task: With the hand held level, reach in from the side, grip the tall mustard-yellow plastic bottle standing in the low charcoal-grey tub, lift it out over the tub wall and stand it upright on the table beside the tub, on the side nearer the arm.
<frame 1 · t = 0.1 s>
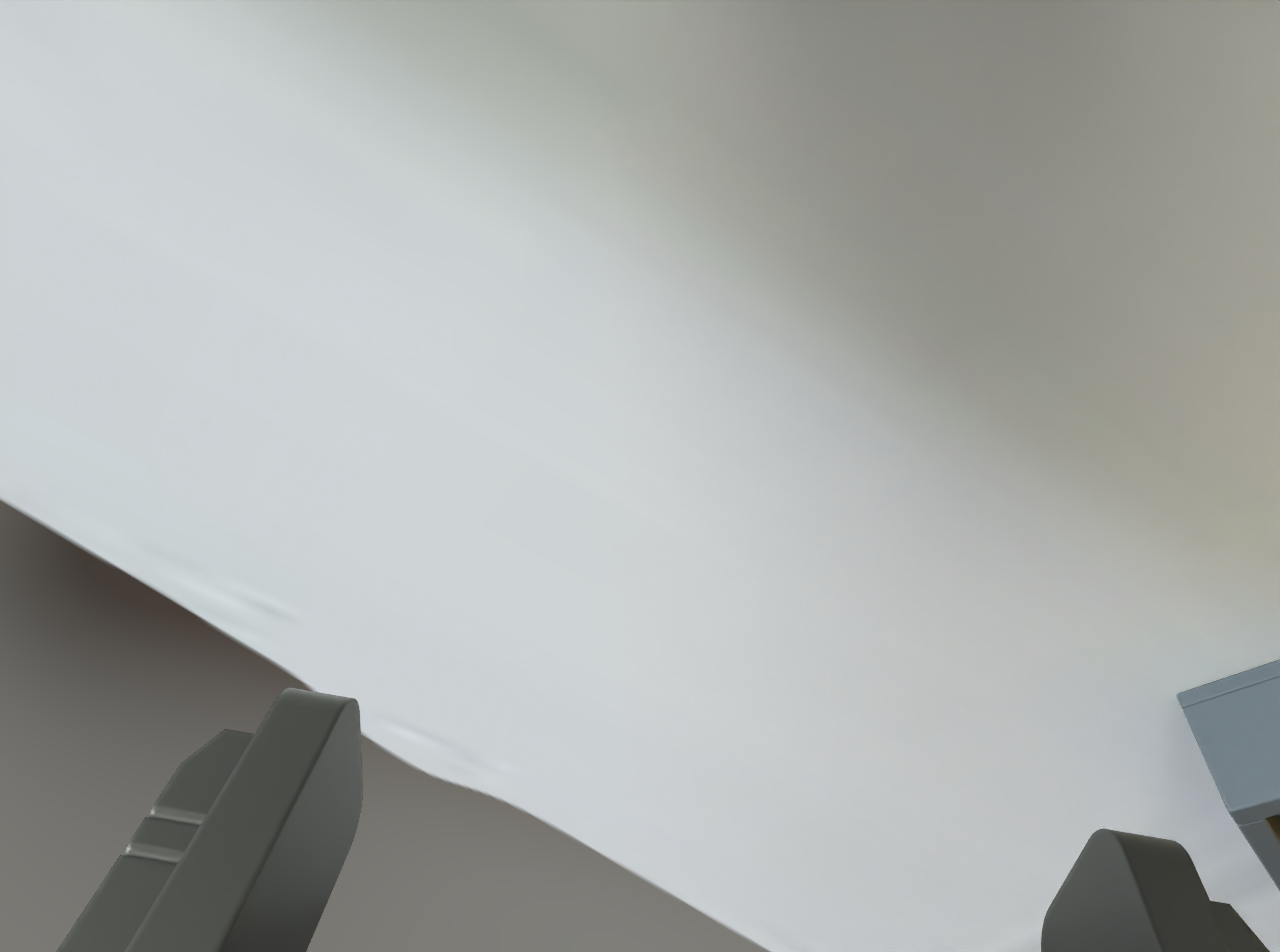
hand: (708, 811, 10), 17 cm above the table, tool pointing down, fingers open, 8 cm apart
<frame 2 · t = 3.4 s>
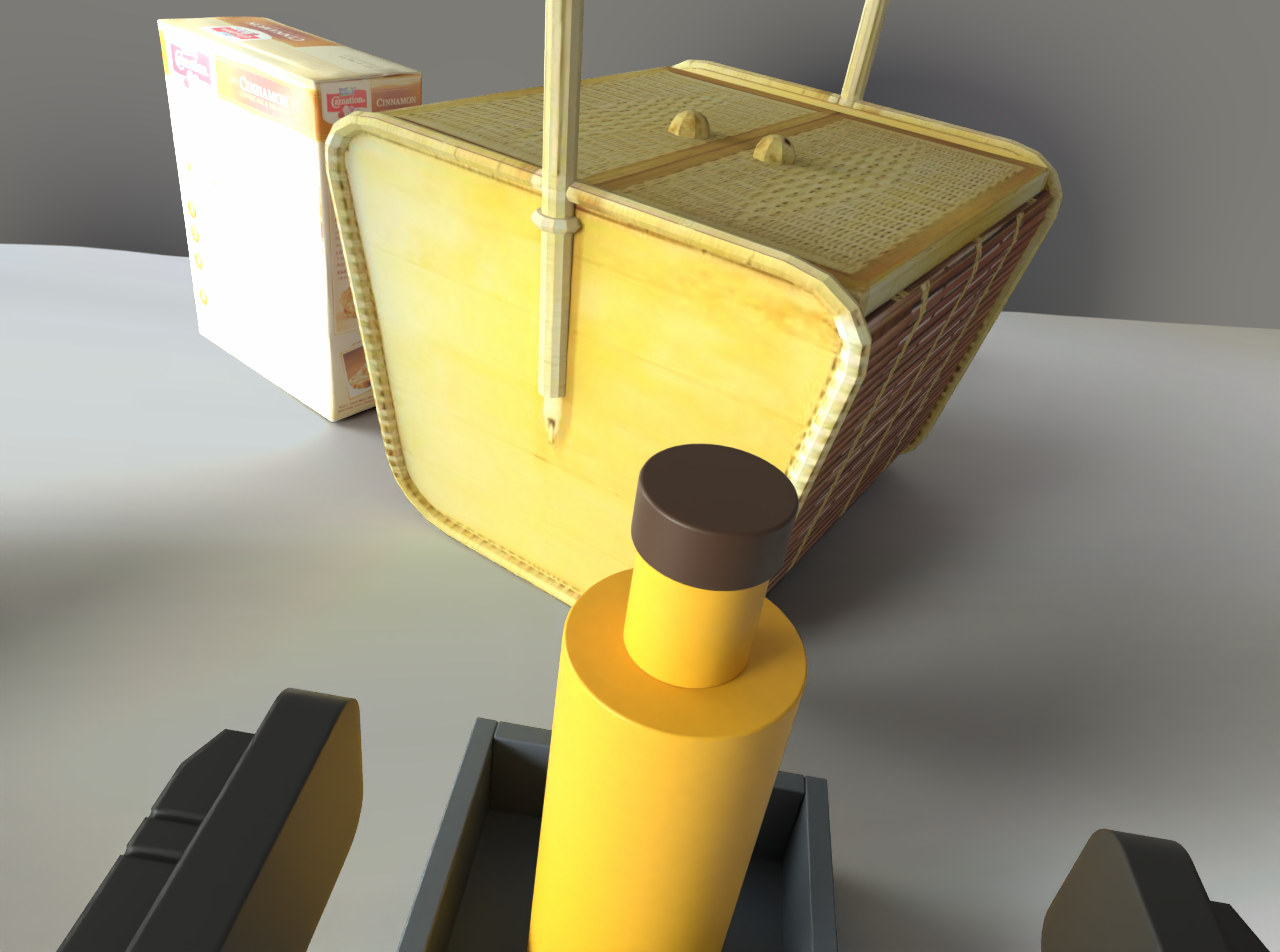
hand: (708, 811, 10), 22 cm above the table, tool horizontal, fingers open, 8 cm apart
coffeecake box: (308, 365, 63), on the table
picnic basket: (672, 490, 56), on the table
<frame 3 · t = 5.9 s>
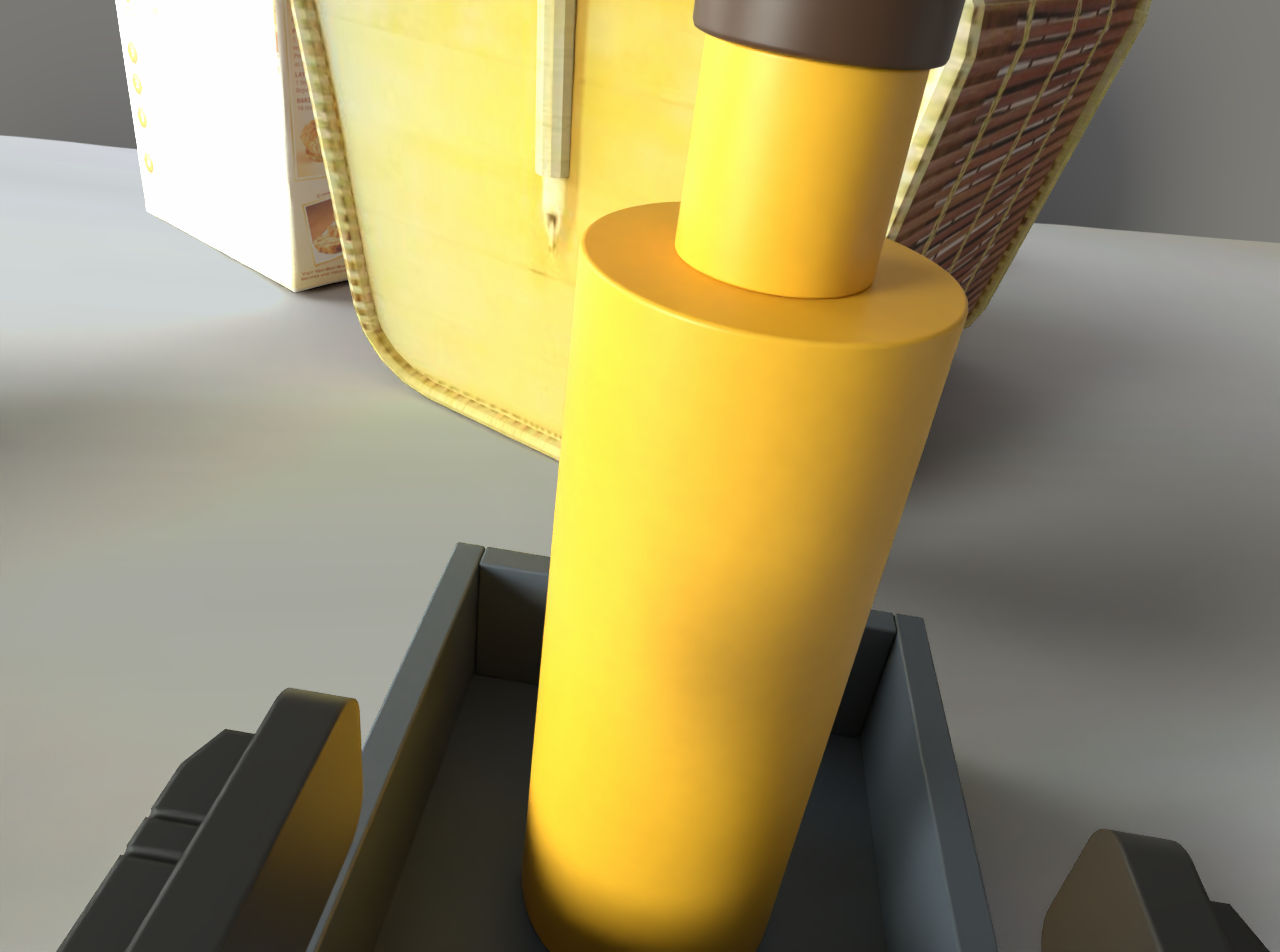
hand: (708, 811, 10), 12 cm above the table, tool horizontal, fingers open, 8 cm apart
tub: (643, 894, 23), on the table
coffeecake box: (270, 243, 55), on the table
picnic basket: (692, 366, 48), on the table
bottle: (646, 878, 22), point 1 cm above the table, touching tub
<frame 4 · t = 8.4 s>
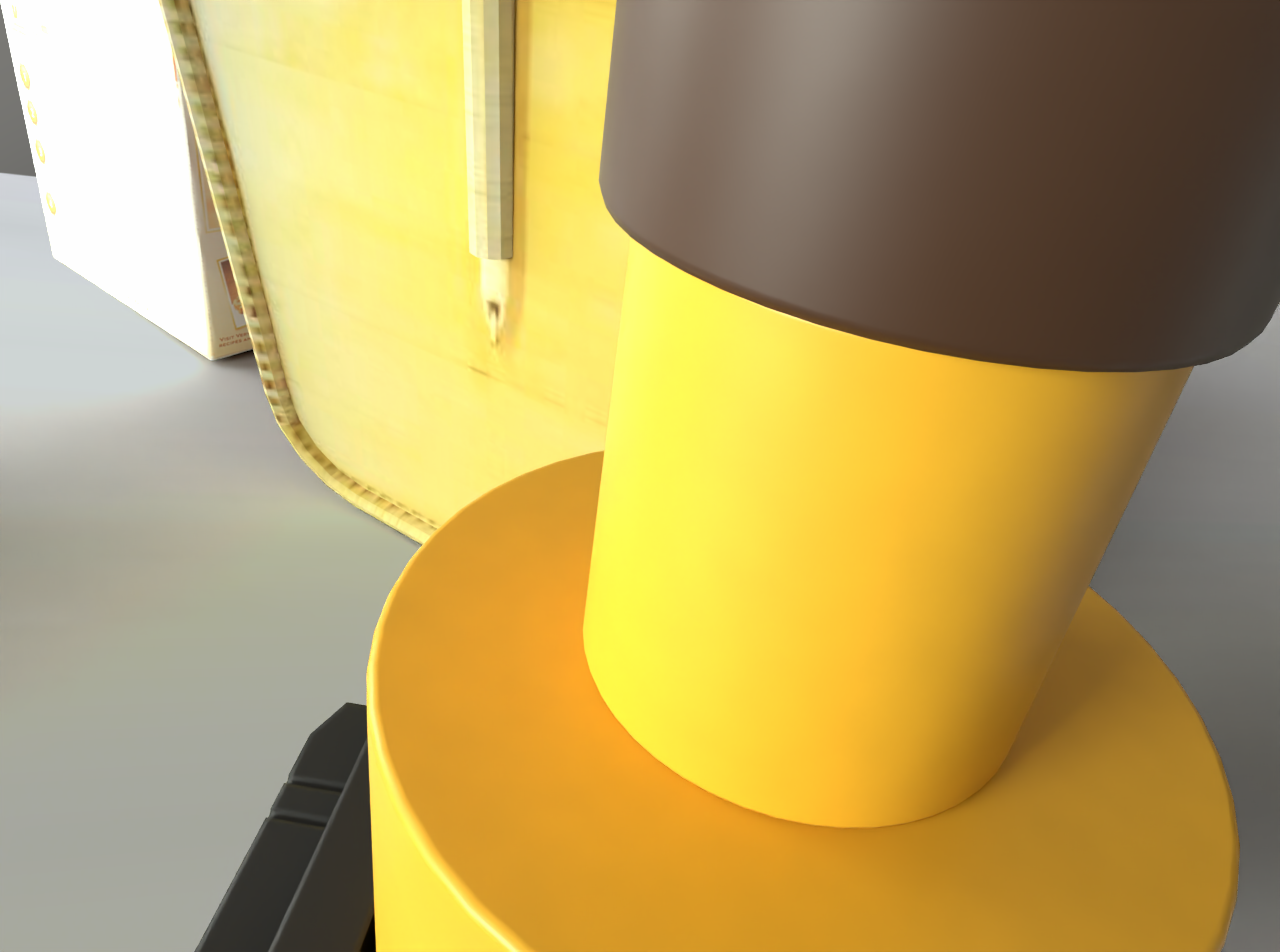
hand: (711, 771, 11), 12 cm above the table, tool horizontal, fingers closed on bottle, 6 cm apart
coffeecake box: (195, 296, 47), on the table
picnic basket: (682, 450, 40), on the table
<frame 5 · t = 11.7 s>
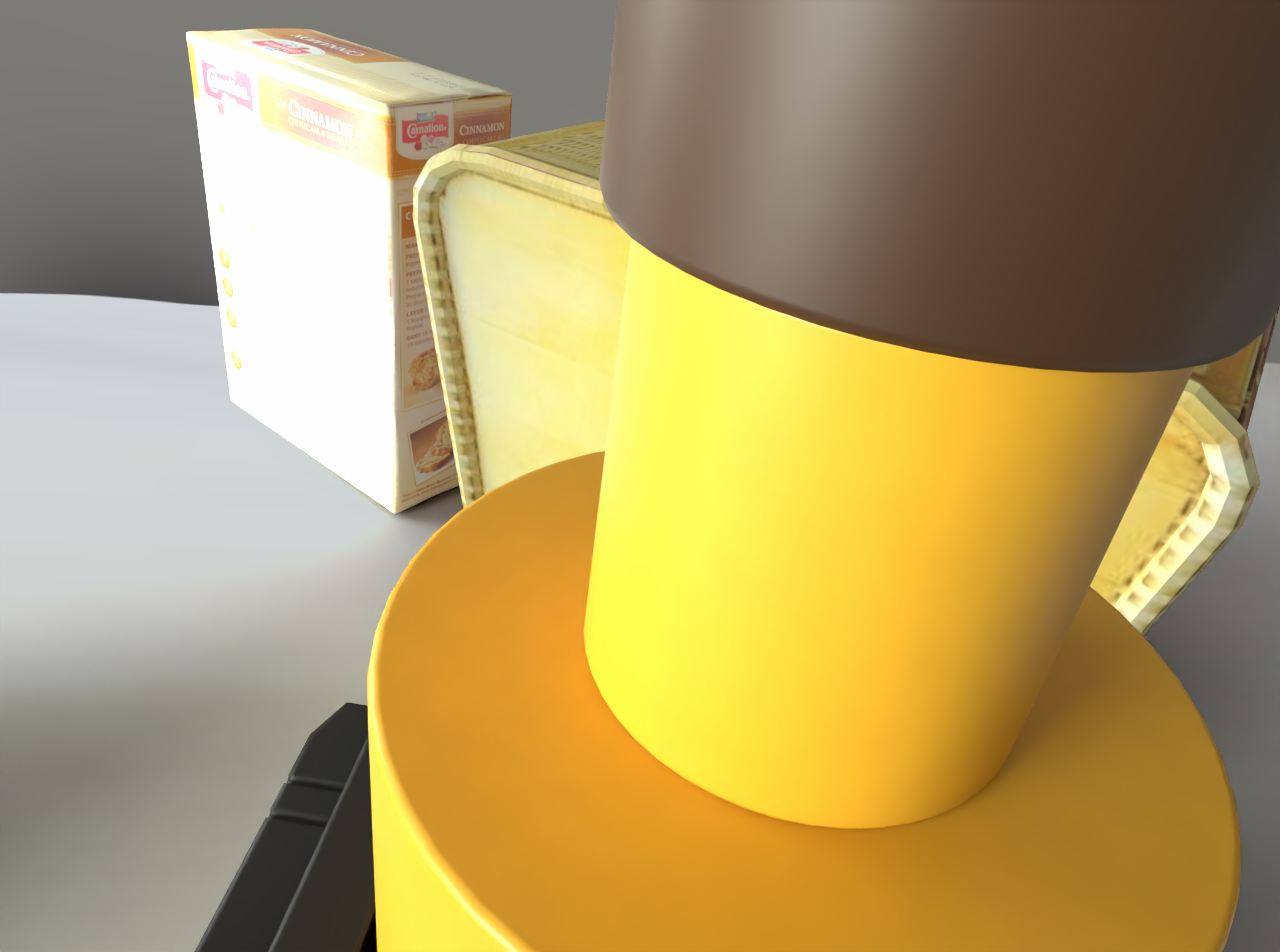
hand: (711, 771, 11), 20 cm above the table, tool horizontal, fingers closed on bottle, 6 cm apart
coffeecake box: (359, 438, 53), on the table
picnic basket: (809, 595, 46), on the table
when the fingers open (11 cm above the table, at t = 15.4 s): bottle stays where it is, on the table.
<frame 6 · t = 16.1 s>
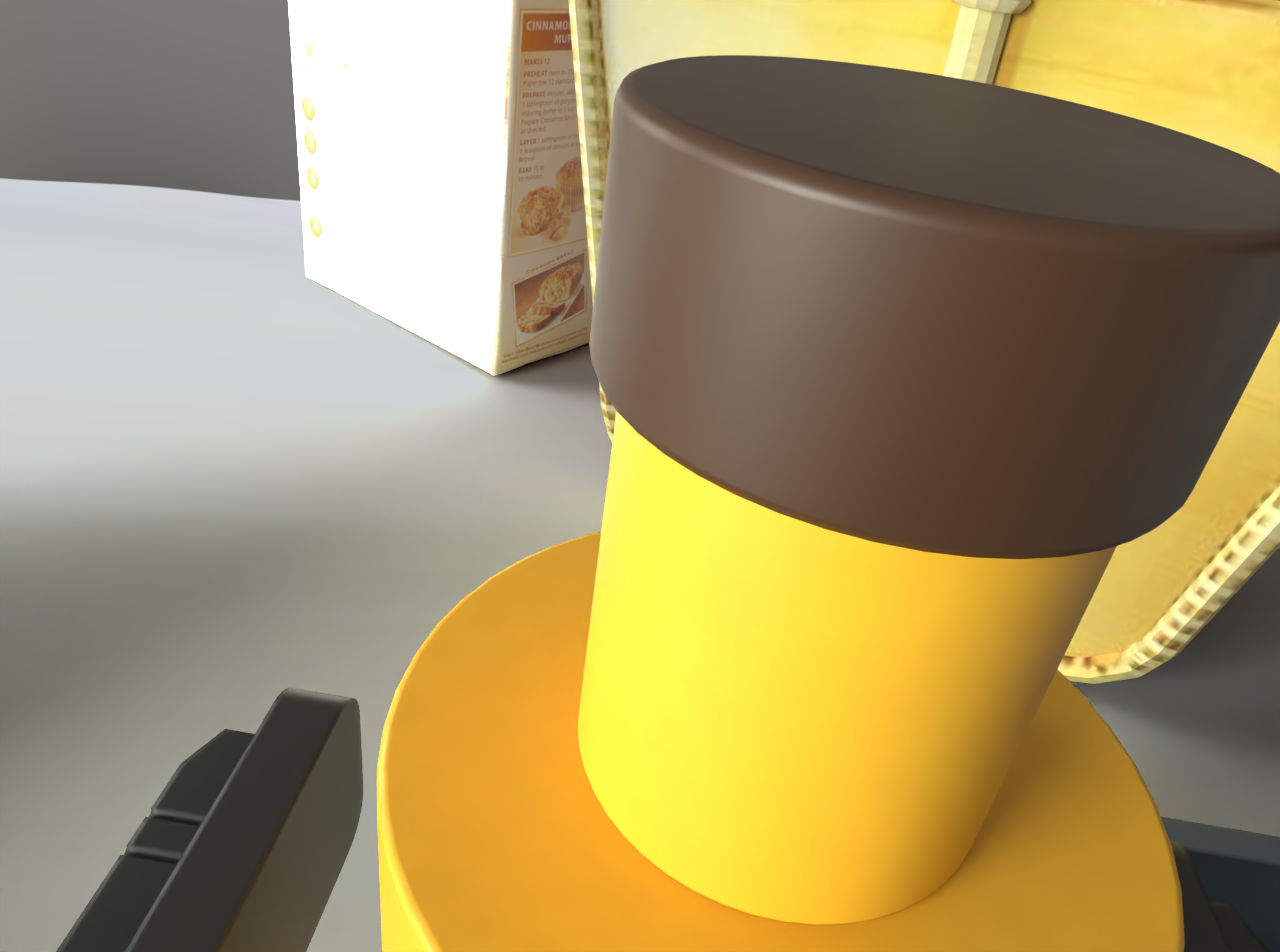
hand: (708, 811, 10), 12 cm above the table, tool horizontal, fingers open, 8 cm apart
coffeecake box: (444, 313, 50), on the table
picnic basket: (939, 460, 43), on the table
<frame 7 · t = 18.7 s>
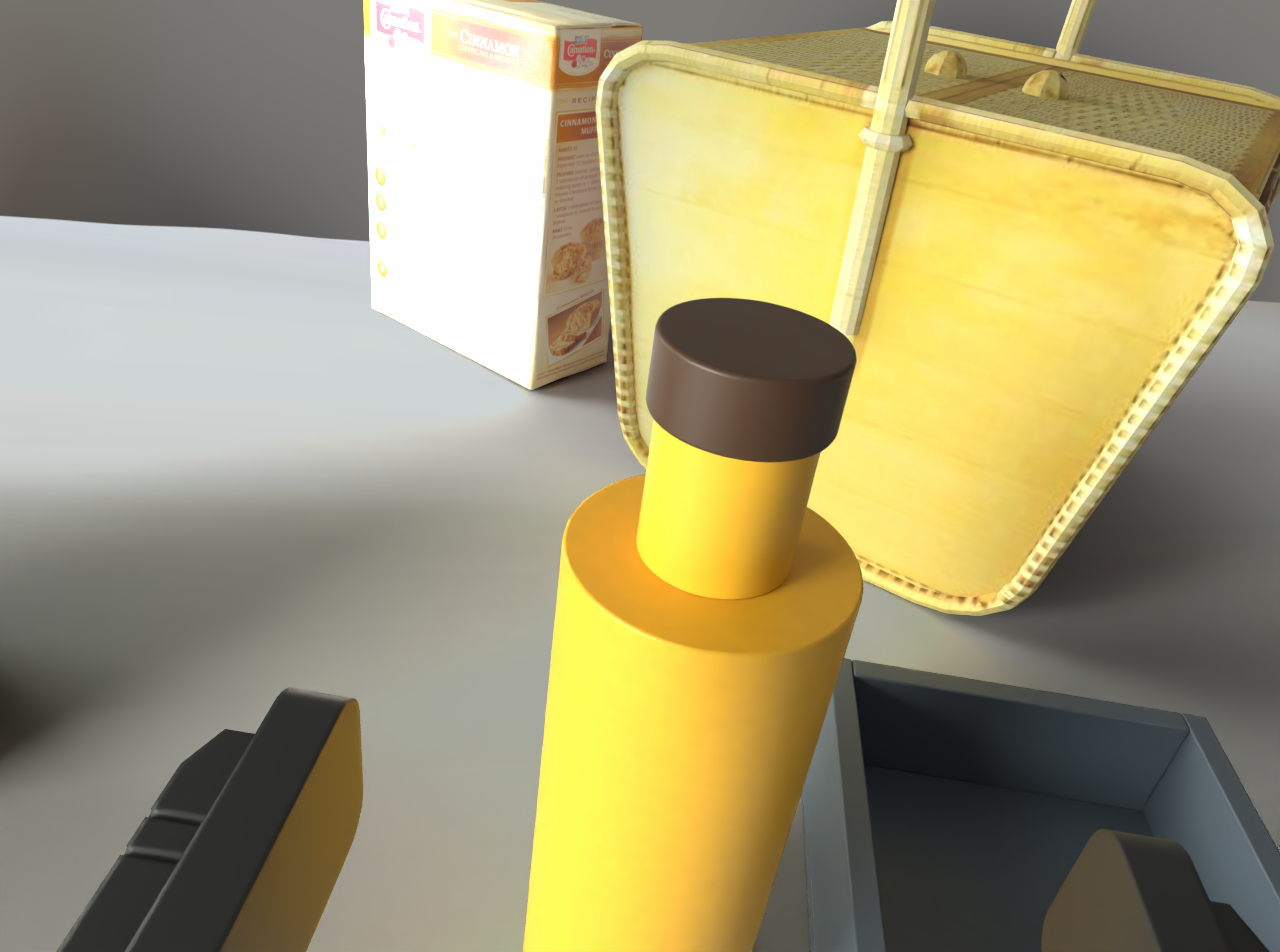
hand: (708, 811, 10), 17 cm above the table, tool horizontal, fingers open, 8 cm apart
tub: (1014, 942, 29), on the table
coffeecake box: (486, 338, 61), on the table
picnic basket: (885, 456, 54), on the table
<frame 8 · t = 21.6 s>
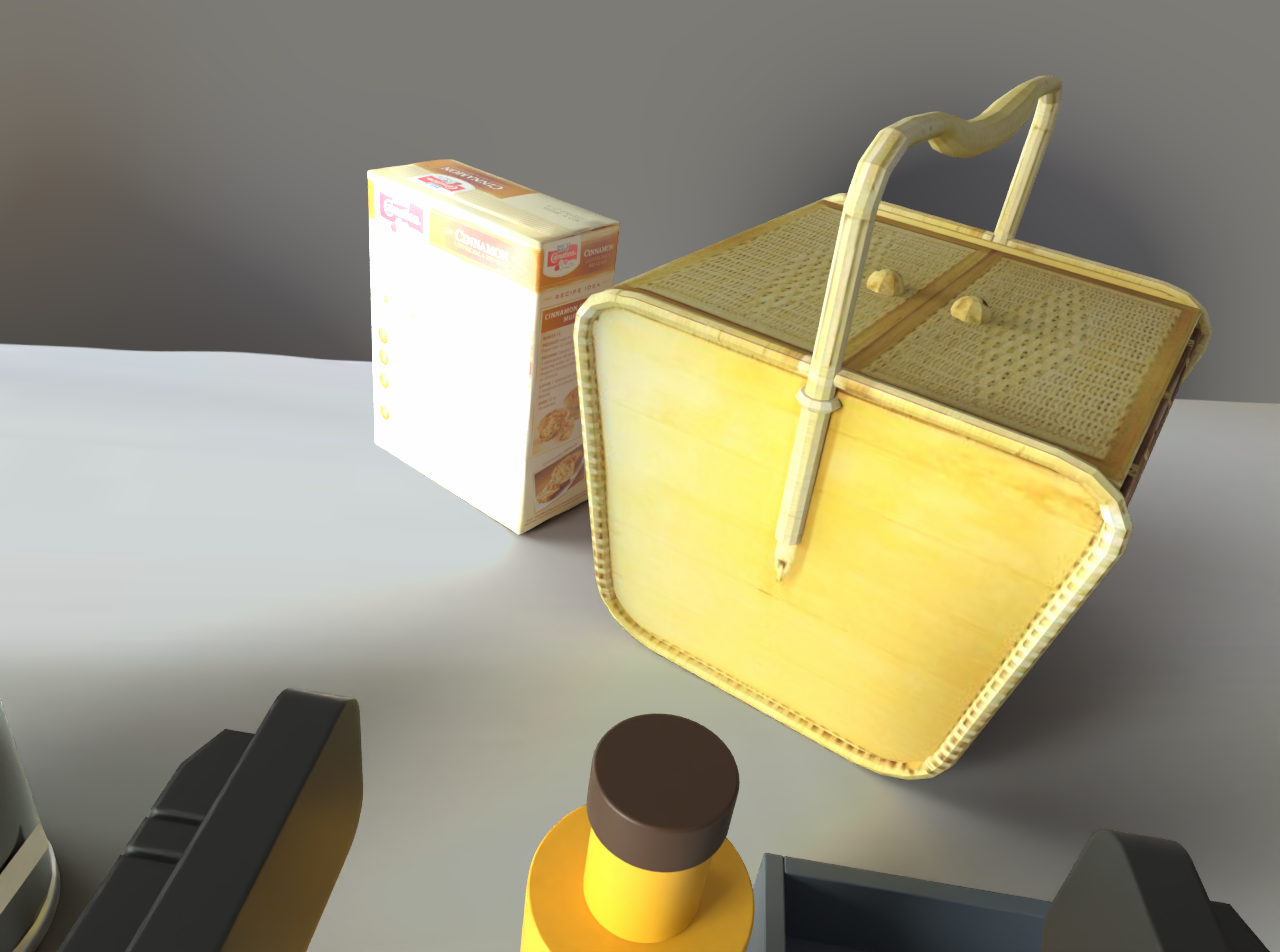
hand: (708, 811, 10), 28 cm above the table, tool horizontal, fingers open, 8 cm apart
coffeecake box: (479, 473, 67), on the table
picnic basket: (839, 597, 60), on the table
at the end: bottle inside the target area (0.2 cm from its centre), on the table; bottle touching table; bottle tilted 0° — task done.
